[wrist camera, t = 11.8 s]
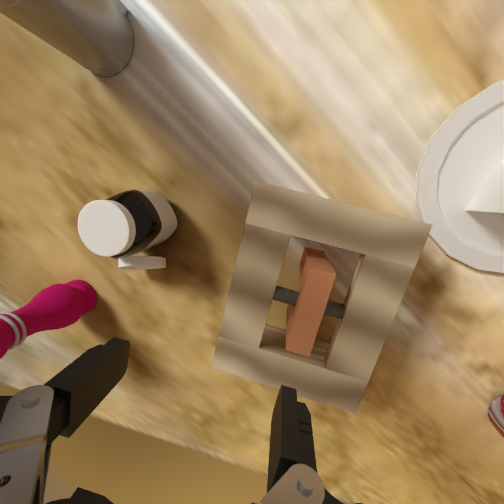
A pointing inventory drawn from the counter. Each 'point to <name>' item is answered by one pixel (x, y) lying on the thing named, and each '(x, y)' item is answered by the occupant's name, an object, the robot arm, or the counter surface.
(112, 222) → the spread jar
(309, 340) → the orange notched plate
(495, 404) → the soda can
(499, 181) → the dish
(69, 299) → the pepper mill
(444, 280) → the counter surface
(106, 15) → the robot arm
